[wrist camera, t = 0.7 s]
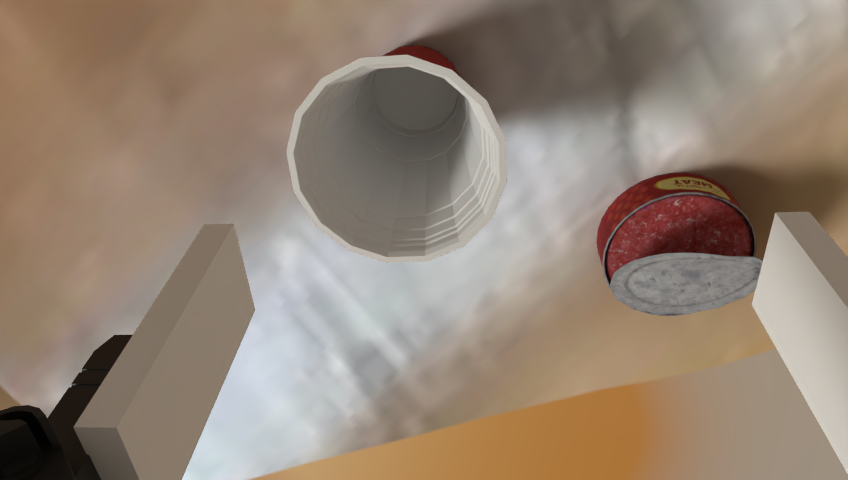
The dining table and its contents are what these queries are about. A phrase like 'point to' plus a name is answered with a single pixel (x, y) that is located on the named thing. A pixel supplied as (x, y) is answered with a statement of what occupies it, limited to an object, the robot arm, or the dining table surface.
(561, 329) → the dining table surface
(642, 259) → the canned food
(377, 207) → the plastic cup
